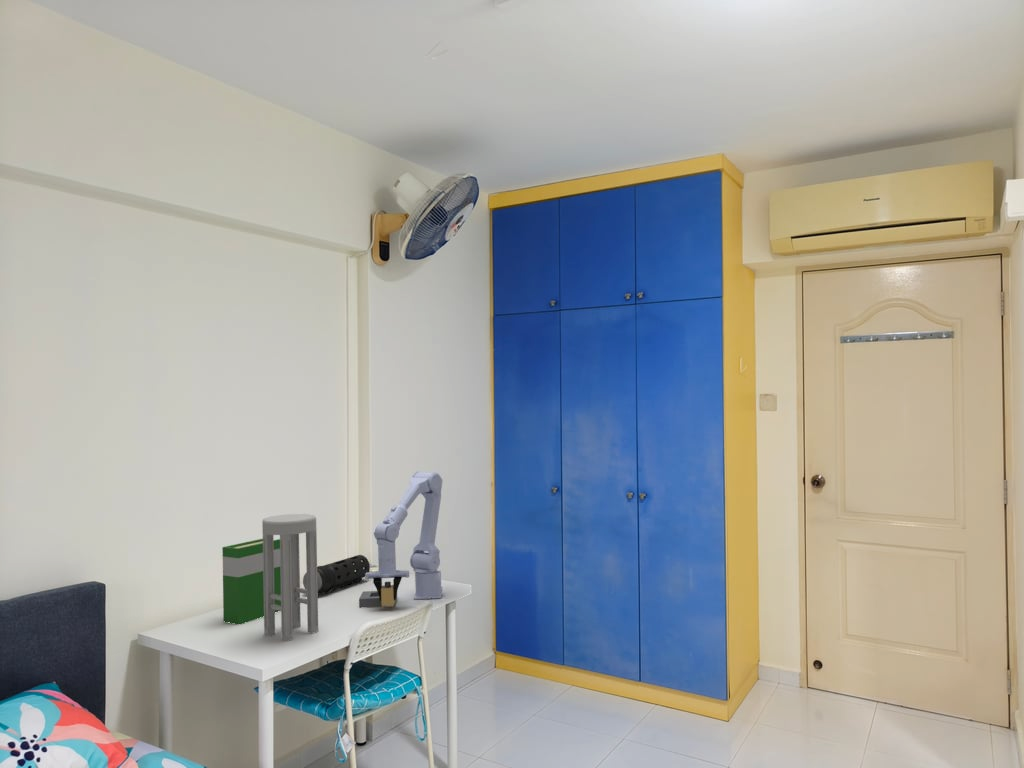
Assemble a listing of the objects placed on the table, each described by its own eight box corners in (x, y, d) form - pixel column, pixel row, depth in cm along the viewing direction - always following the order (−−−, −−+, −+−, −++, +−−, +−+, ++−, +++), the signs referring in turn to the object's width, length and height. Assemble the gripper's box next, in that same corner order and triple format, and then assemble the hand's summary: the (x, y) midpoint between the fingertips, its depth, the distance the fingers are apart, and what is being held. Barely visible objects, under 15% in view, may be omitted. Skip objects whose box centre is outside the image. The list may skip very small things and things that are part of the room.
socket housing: (397, 598, 260) (397, 589, 260) (394, 606, 250) (394, 597, 250) (363, 600, 259) (362, 591, 259) (359, 607, 249) (359, 598, 249)
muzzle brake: (370, 581, 287) (370, 554, 287) (321, 599, 262) (320, 570, 262) (351, 579, 291) (351, 553, 292) (301, 596, 266) (300, 568, 267)
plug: (394, 602, 249) (394, 580, 249) (393, 605, 245) (393, 583, 245) (382, 603, 248) (382, 581, 249) (381, 606, 244) (381, 583, 245)
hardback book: (266, 608, 252) (265, 537, 252) (282, 610, 248) (280, 539, 249) (223, 621, 236) (222, 547, 237) (239, 624, 233) (237, 548, 233)
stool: (298, 622, 233) (296, 512, 234) (328, 631, 224) (325, 515, 225) (254, 635, 221) (252, 518, 222) (283, 644, 212) (281, 523, 213)
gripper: (363, 562, 242) (364, 603, 242) (407, 560, 243) (408, 601, 243) (366, 558, 249) (367, 598, 249) (409, 556, 250) (410, 596, 250)
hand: (388, 599), depth 247 cm, fingers closed on plug, 4 cm apart
